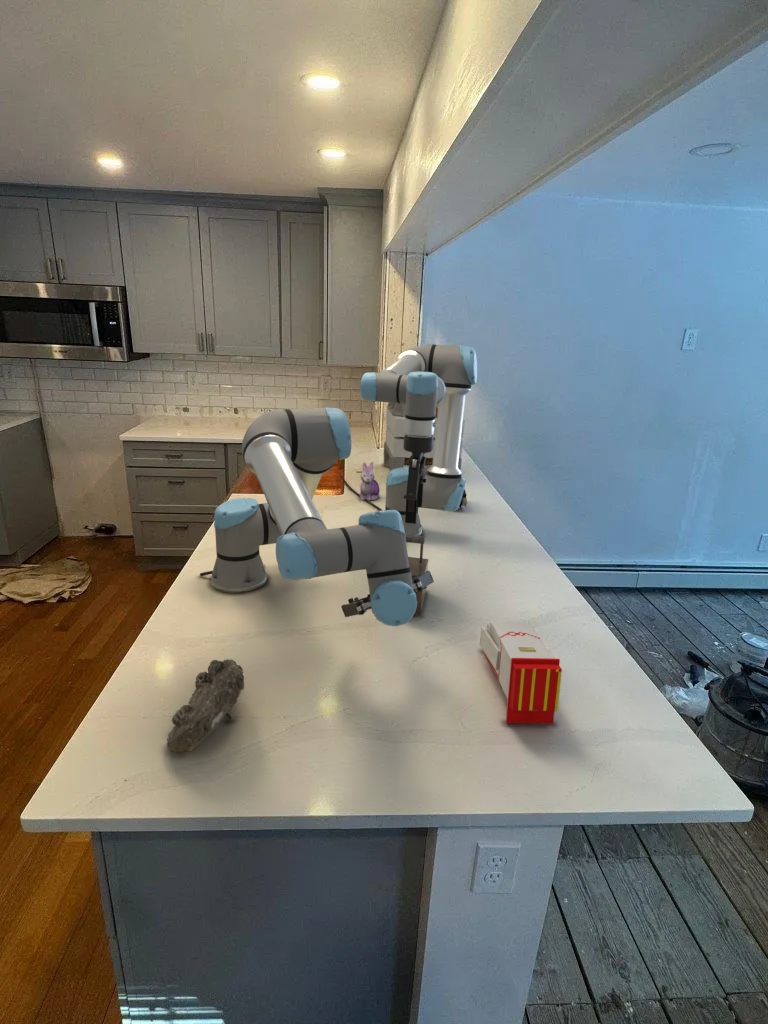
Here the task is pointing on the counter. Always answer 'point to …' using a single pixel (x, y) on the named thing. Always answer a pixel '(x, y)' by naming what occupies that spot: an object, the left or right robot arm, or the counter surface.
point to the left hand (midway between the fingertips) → (386, 591)
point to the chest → (420, 600)
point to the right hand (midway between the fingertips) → (413, 514)
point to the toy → (523, 670)
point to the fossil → (206, 705)
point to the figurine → (368, 484)
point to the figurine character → (463, 500)
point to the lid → (420, 563)
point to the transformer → (395, 438)
